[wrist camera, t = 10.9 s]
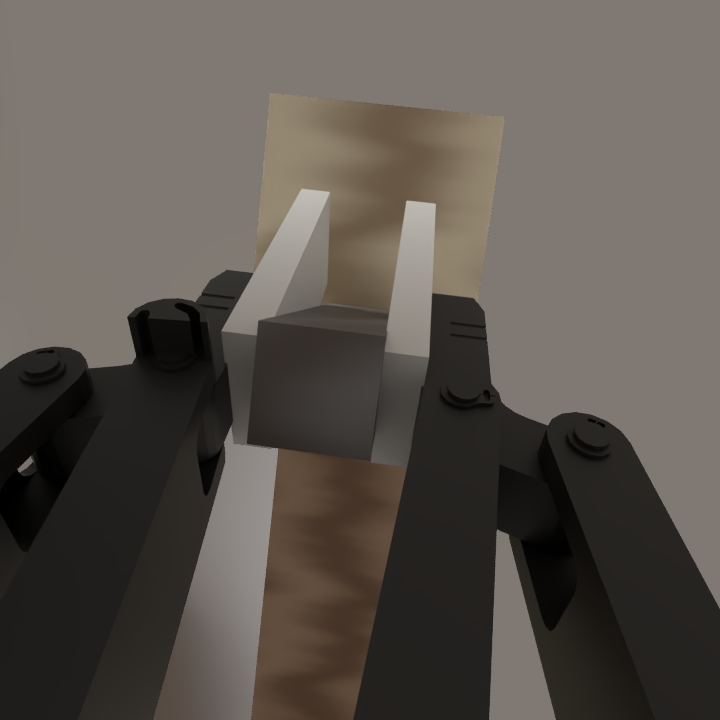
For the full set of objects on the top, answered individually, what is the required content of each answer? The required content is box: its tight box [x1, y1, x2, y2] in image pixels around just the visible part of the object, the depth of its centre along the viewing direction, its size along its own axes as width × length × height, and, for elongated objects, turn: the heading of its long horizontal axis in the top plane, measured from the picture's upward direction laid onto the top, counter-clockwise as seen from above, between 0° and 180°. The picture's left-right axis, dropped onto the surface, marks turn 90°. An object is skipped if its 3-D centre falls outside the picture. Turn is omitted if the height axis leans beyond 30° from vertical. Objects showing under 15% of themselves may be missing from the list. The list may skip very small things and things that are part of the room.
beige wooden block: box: [247, 93, 505, 461], centre depth 15 cm, size 7×14×8 cm, turn 176°
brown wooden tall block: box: [251, 449, 407, 720], centre depth 32 cm, size 8×6×29 cm
